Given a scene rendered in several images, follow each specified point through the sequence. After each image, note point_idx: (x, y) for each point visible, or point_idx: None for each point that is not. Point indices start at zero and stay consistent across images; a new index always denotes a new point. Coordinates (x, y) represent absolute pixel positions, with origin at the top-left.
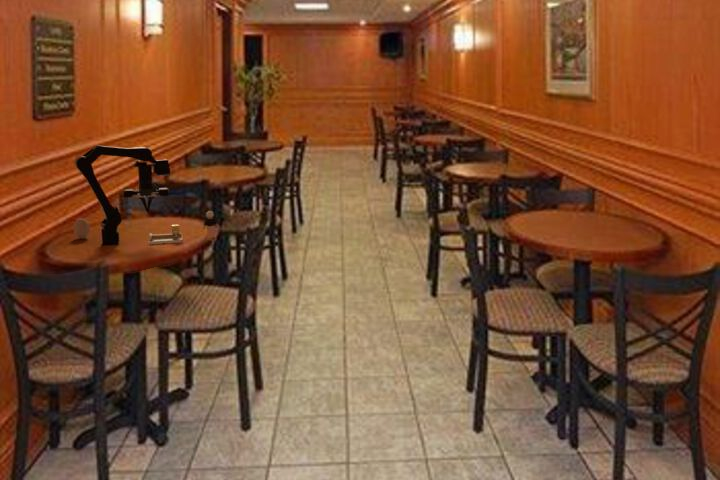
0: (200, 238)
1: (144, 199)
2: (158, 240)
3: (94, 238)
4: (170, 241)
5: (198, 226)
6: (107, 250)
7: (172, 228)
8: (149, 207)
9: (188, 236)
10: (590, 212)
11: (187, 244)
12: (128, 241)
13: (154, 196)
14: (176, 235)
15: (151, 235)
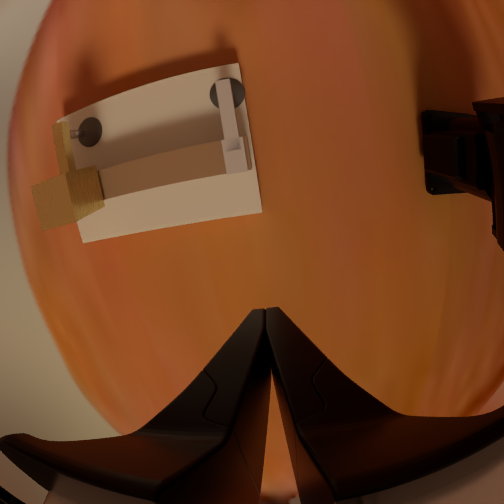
0: (22, 211)
1: (334, 449)
2: (179, 93)
3: (495, 275)
4: (112, 97)
5: (117, 415)
6: (427, 3)
7: (73, 171)
8: (227, 343)
9: (74, 261)
10: None
11: (45, 81)
12: (379, 177)
13: (50, 494)
14: (70, 132)
15: (220, 96)
